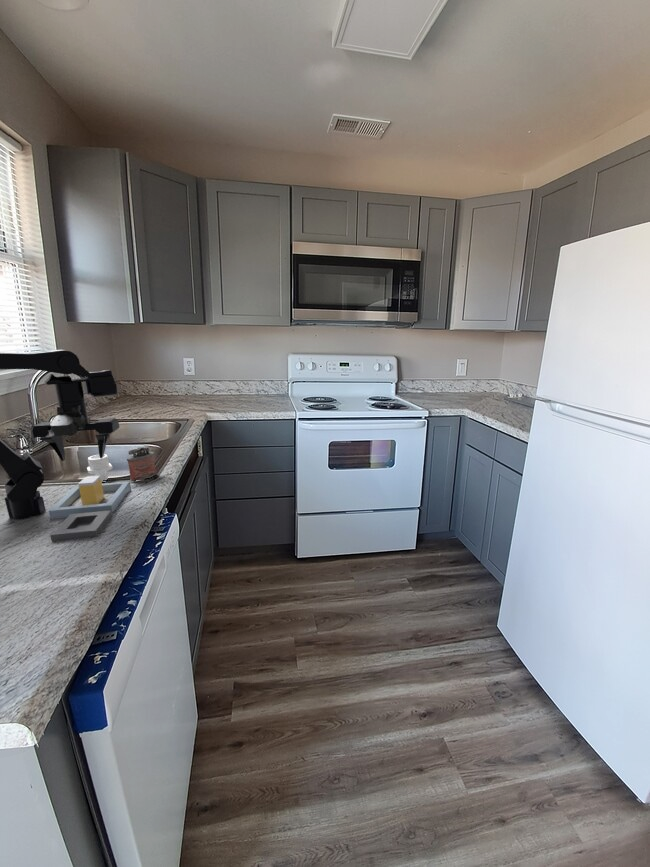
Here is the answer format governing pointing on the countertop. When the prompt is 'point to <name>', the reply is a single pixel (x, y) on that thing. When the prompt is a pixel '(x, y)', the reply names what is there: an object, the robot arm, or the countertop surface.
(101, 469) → the pipe fitting
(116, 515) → the countertop surface
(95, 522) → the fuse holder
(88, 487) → the yellow and white block
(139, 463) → the lighter
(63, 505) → the parts tray
